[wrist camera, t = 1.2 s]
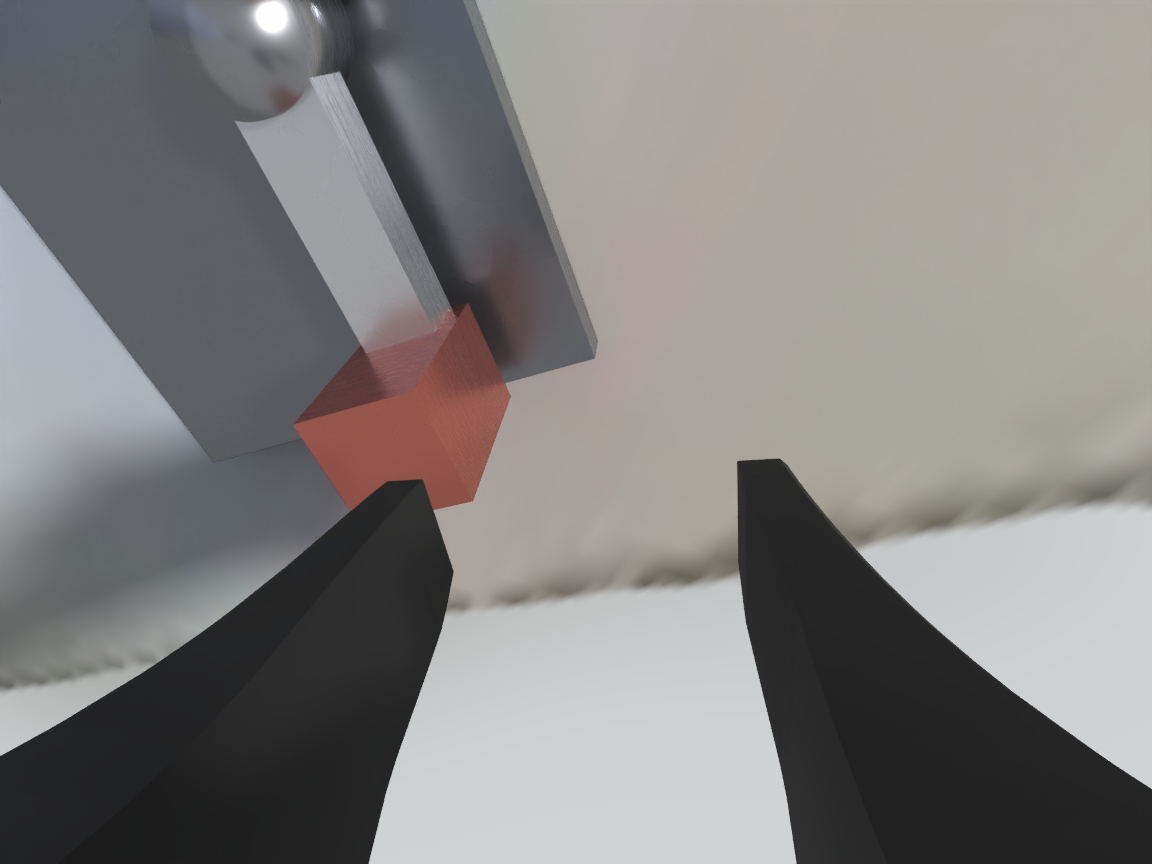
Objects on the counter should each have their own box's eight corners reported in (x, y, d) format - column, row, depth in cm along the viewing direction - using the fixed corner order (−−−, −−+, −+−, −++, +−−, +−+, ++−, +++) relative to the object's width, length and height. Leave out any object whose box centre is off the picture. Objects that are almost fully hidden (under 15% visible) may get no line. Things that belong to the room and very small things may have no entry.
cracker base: (232, 443, 24) (95, 586, 18) (-87, 9, 17) (-480, 10, 11) (610, 337, 20) (593, 474, 14) (397, -275, 13) (192, -501, 7)
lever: (196, -16, 14) (-9, -25, 10) (308, -73, 14) (141, -113, 9) (425, 409, 20) (360, 526, 16) (514, 386, 19) (472, 501, 15)
